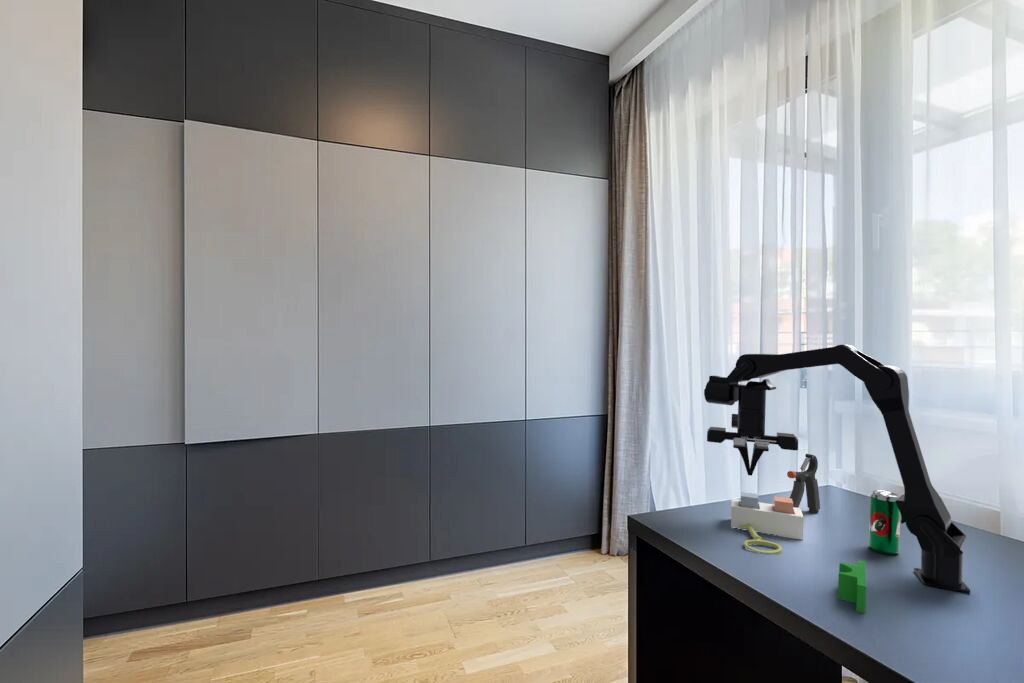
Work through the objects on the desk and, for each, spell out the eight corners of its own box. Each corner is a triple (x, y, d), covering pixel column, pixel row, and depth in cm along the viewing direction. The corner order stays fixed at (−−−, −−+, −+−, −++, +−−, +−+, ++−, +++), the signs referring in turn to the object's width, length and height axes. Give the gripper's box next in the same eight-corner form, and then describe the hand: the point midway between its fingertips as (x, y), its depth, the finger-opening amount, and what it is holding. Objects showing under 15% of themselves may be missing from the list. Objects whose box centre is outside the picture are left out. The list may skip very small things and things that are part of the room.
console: (802, 539, 109) (803, 517, 109) (730, 528, 115) (731, 506, 115) (799, 529, 115) (800, 508, 115) (731, 519, 121) (731, 498, 121)
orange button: (792, 523, 111) (793, 503, 111) (774, 521, 113) (775, 500, 113) (791, 518, 115) (791, 498, 115) (773, 516, 116) (774, 496, 116)
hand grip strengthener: (781, 517, 123) (782, 456, 123) (811, 510, 129) (813, 451, 129) (790, 520, 121) (791, 458, 121) (820, 513, 127) (822, 453, 127)
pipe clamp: (839, 581, 91) (840, 555, 91) (864, 587, 89) (865, 561, 89) (837, 607, 82) (838, 579, 82) (865, 614, 80) (865, 585, 80)
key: (749, 532, 114) (749, 522, 114) (787, 556, 102) (787, 545, 102) (720, 533, 113) (720, 524, 113) (754, 558, 101) (755, 547, 101)
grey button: (757, 518, 114) (758, 498, 114) (740, 515, 116) (740, 496, 116) (757, 513, 118) (757, 494, 117) (740, 511, 119) (740, 491, 119)
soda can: (903, 557, 101) (905, 498, 101) (873, 553, 103) (875, 495, 103) (893, 547, 106) (895, 491, 106) (865, 543, 108) (866, 488, 108)
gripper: (794, 406, 120) (792, 472, 120) (710, 401, 128) (708, 462, 128) (799, 413, 110) (797, 484, 110) (707, 406, 117) (705, 472, 118)
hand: (749, 475), depth 117 cm, fingers closed
